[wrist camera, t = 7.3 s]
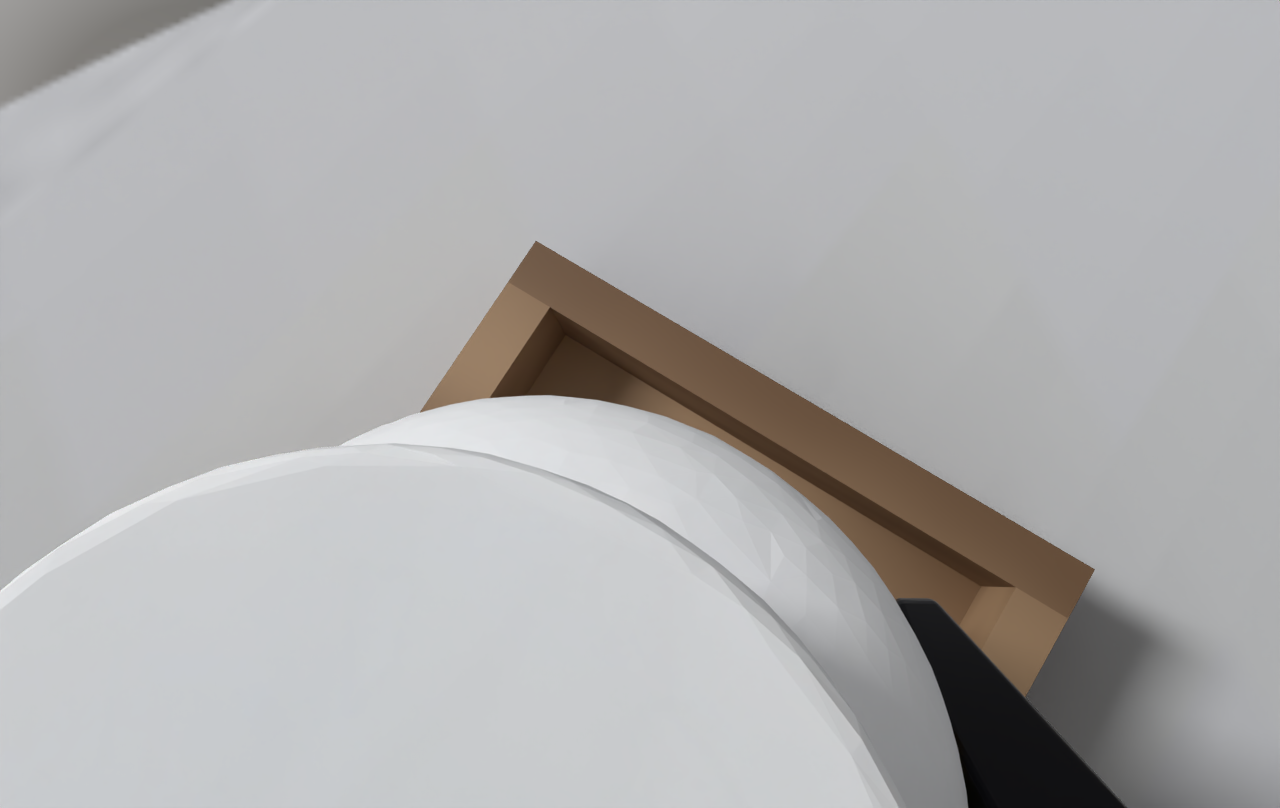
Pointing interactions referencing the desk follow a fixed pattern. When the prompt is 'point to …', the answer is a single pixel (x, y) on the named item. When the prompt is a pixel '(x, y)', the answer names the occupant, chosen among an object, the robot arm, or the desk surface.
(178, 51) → the desk surface
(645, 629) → the supplement bottle
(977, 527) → the walnut tray
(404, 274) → the desk surface
